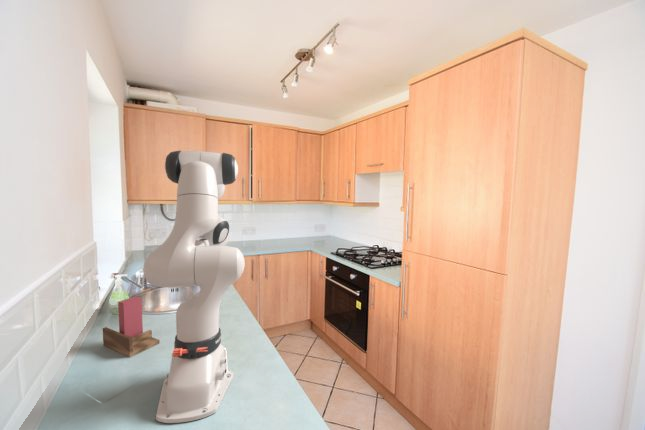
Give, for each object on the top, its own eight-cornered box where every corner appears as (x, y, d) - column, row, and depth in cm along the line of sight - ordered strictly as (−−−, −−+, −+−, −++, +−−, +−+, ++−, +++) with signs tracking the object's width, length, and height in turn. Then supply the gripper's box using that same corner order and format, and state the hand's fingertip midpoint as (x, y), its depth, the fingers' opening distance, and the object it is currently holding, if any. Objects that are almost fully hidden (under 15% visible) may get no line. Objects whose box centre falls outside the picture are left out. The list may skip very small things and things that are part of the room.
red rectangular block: (137, 336, 103) (136, 296, 102) (142, 338, 102) (141, 297, 101) (119, 343, 98) (118, 301, 97) (125, 346, 97) (123, 303, 96)
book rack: (133, 333, 108) (132, 317, 108) (159, 343, 101) (159, 326, 100) (103, 345, 99) (102, 328, 99) (130, 357, 92) (129, 339, 92)
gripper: (178, 240, 125) (147, 248, 113) (210, 239, 116) (181, 248, 104) (180, 254, 126) (150, 263, 114) (213, 254, 117) (184, 265, 104)
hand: (165, 256), depth 109 cm, fingers open, 8 cm apart
